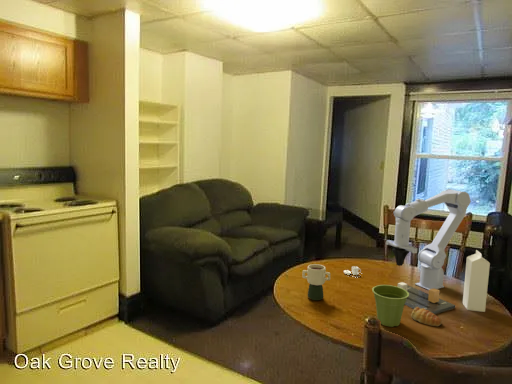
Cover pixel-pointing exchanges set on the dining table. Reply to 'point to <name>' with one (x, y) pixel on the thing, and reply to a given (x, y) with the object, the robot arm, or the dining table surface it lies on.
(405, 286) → the fader
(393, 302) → the plant pot
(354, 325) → the dining table surface
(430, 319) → the pastry
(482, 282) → the milk
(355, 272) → the teacup and saucer
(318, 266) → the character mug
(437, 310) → the console
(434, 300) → the block
